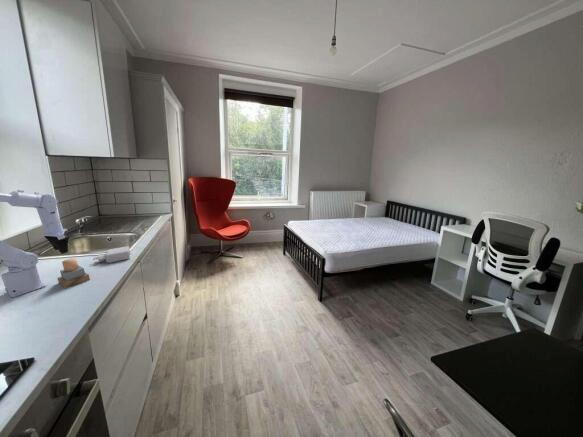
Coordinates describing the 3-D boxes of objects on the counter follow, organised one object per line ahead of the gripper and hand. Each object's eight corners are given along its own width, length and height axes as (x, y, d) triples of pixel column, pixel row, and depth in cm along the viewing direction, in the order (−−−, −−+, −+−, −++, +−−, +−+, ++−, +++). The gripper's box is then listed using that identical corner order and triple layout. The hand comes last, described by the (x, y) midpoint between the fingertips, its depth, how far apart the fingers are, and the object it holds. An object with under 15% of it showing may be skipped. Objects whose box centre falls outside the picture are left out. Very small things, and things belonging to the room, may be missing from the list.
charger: (95, 260, 123) (130, 253, 131) (92, 266, 115) (130, 259, 123) (93, 251, 122) (128, 245, 129) (90, 257, 114) (128, 250, 122)
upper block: (67, 280, 97) (65, 274, 96) (61, 277, 100) (59, 270, 100) (85, 274, 102) (83, 268, 101) (79, 271, 105) (78, 265, 104)
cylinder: (67, 272, 97) (64, 263, 96) (62, 270, 100) (60, 261, 99) (80, 268, 101) (78, 259, 100) (76, 266, 103) (73, 257, 102)
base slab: (66, 289, 97) (64, 282, 96) (59, 284, 101) (57, 277, 100) (90, 280, 103) (88, 274, 102) (82, 276, 107) (81, 270, 106)
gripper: (69, 222, 102) (79, 251, 106) (57, 217, 110) (67, 244, 114) (46, 227, 97) (58, 257, 101) (36, 221, 104) (47, 250, 108)
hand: (61, 251), depth 107 cm, fingers open, 7 cm apart
